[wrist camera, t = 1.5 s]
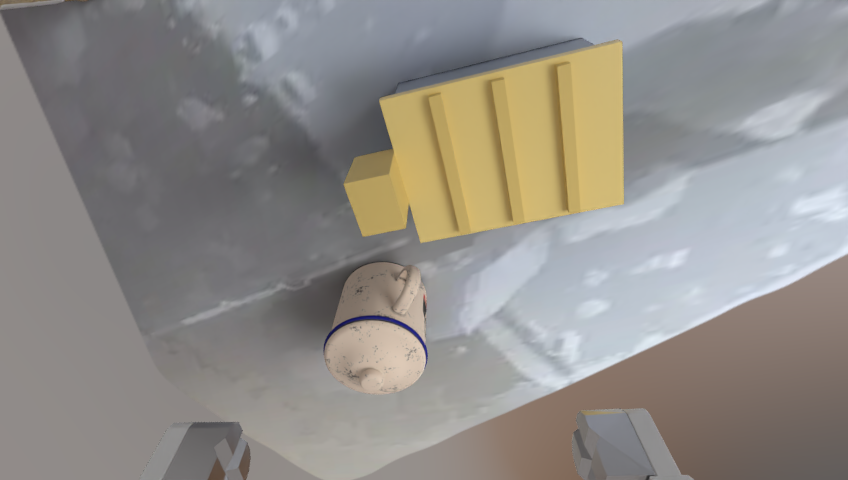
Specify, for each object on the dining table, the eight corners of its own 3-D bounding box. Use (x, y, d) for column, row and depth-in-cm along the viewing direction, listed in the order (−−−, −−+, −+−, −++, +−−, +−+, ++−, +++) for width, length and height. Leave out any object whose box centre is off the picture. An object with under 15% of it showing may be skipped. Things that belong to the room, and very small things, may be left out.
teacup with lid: (404, 338, 49) (396, 432, 40) (328, 307, 47) (299, 398, 37) (459, 259, 44) (465, 347, 34) (375, 221, 42) (355, 302, 32)
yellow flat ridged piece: (617, 39, 27) (647, 52, 23) (619, 199, 33) (643, 230, 29) (337, 107, 30) (323, 129, 26) (384, 244, 36) (378, 278, 32)
